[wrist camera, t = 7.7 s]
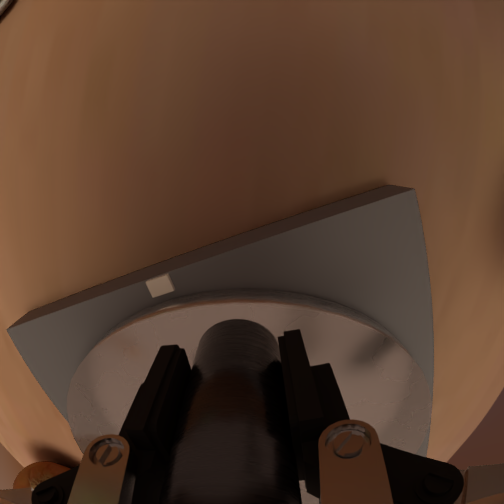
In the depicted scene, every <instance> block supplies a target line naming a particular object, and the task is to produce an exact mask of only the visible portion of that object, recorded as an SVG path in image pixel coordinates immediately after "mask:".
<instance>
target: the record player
mask: <svg viewBox="0 0 504 504" xmlns="http://www.w3.org/2000/svg"><path fill="white" fill-rule="evenodd" d="M296 329H300V331H301V335H302V338H303V342H304V346H305V349H306V353H307V356H308V360H309V364H310V366H314V365H320V364H325V363H330V365H331V367H332V370H333V373H334V375H335V378H336V381H337V384H338V386H339V389H340V392H341V395H342V398H343V400H344V403H345V406H346V409H347V412H348V415H349V417H350V420H352V419H354V420H360V421H364V422H366V423H368V424H370V425H371V426H372V427H373V428H374V429H375V430H376V432H377V434H378V437H379V441H380V443H382V444H385V445H388V446H391V447H394V448H397V449H400V450H403V451H406V452H409V453H413V454H416V453H417V451H418V449H419V448H420V446H421V444H422V442H423V440H424V438H425V435H426V433H427V430H428V427H429V423H430V418H431V404H432V400H431V395H430V389H429V385H428V383H427V380H426V378H425V376H424V374H423V372H422V370H421V369H420V367H419V366H418V365H417V363H416V362H415V361H414V359H413V358H412V357H411V355H410V354H409V353H408V352H407V350H406V349H405V348H404V346H403V345H402V344H401V343H400V341H399V340H398V339H397V338H396V337H395V336H394V335H393V334H391V333H390V332H389V331H388V330H387V329H386V328H384V327H383V326H382V325H381V324H379V323H377V322H376V321H374V320H372V319H371V318H369V317H367V316H366V315H364V314H362V313H361V312H358V311H356V310H353V309H351V308H348V307H346V306H344V305H341V304H339V303H336V302H333V301H329V300H325V299H321V298H318V297H314V296H310V295H306V294H300V293H292V292H285V291H277V290H259V289H232V290H222V291H211V292H202V293H197V294H192V295H188V296H183V297H178V298H174V299H170V300H167V301H164V302H162V303H159V304H156V305H153V306H150V307H147V308H145V309H143V310H141V311H139V312H137V313H135V314H133V315H132V316H130V317H128V318H126V319H124V320H122V321H121V322H120V323H118V324H117V325H116V326H114V327H113V328H112V329H111V330H109V331H108V332H107V333H105V334H104V336H103V337H102V338H101V339H100V340H99V341H98V342H97V344H96V345H95V346H94V347H93V348H92V349H91V351H90V352H89V353H88V354H87V356H86V357H85V358H84V360H83V361H82V362H81V364H80V365H79V366H78V368H77V370H76V372H75V374H74V376H73V378H72V380H71V383H70V387H69V390H68V394H67V414H68V420H69V425H70V428H71V431H72V433H73V436H74V439H75V440H76V442H77V444H78V446H79V448H80V450H81V451H82V453H83V454H84V452H85V450H86V448H87V446H88V445H89V444H90V443H91V442H92V441H93V440H94V439H96V438H98V437H100V436H103V435H109V434H114V435H119V432H120V430H121V428H122V425H123V423H124V421H125V418H126V416H127V414H128V412H129V409H130V407H131V405H132V403H133V400H134V398H135V396H136V394H137V392H138V389H139V387H140V385H141V384H142V383H144V381H145V379H146V377H147V375H148V373H149V370H150V368H151V366H152V364H153V362H154V360H155V357H156V355H157V353H158V351H159V349H160V347H161V346H163V345H175V344H177V345H178V346H179V347H180V348H184V349H185V351H186V354H187V357H188V361H189V364H190V367H191V374H190V378H189V381H188V385H187V389H186V393H185V396H184V400H183V404H182V408H181V412H180V416H179V420H178V424H177V428H176V432H175V435H174V440H173V444H172V448H171V452H170V456H169V460H168V464H167V468H166V472H165V476H164V481H163V485H162V489H161V494H160V498H159V502H158V504H319V499H318V498H316V497H315V496H313V495H311V494H309V493H307V490H306V488H305V481H304V480H302V481H299V476H298V469H297V462H296V455H295V452H294V450H293V445H292V438H291V430H290V423H289V415H288V408H287V401H286V393H285V386H284V379H283V372H282V365H281V358H280V351H279V344H278V337H279V336H284V333H283V331H290V330H296Z"/></svg>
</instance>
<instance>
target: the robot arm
mask: <svg viewBox="0 0 504 504" xmlns="http://www.w3.org/2000/svg"><path fill="white" fill-rule="evenodd" d="M283 333H284V336H279V337H278V344H279V351H280V358H281V365H282V372H283V379H284V386H285V393H286V401H287V408H288V415H289V423H290V430H291V438H292V445H293V450H294V452H295V455H296V462H297V469H298V476H299V481H302V480H304V481H305V488H306V490H307V493H309V494H311V495H313V496H315V497H316V498H318V499H319V504H504V463H503V464H495V465H484V466H469V467H468V468H467V470H459V469H457V468H456V467H455V466H453V465H451V464H448V463H445V462H441V461H438V460H434V459H430V458H427V457H423V456H419V455H416V454H413V453H409V452H406V451H403V450H400V449H397V448H394V447H391V446H388V445H385V444H382V443H380V441H379V437H378V434H377V432H376V430H375V429H374V428H373V427H372V426H371V425H370V424H368V423H366V422H364V421H360V420H354V419H352V420H350V417H349V415H348V412H347V409H346V406H345V403H344V400H343V398H342V395H341V392H340V389H339V386H338V384H337V381H336V378H335V375H334V373H333V370H332V367H331V365H330V363H325V364H320V365H314V366H310V364H309V360H308V356H307V353H306V349H305V346H304V342H303V338H302V335H301V331H300V329H296V330H290V331H283ZM190 374H191V367H190V364H189V361H188V357H187V354H186V351H185V349H184V348H180V347H179V346H178V345H177V344H175V345H163V346H161V347H160V349H159V351H158V353H157V355H156V357H155V360H154V362H153V364H152V366H151V368H150V370H149V373H148V375H147V377H146V379H145V381H144V383H142V384H141V385H140V387H139V389H138V392H137V394H136V396H135V398H134V400H133V403H132V405H131V407H130V409H129V412H128V414H127V416H126V418H125V421H124V423H123V425H122V428H121V430H120V432H119V435H114V434H109V435H103V436H100V437H98V438H96V439H94V440H93V441H92V442H91V443H90V444H89V445H88V446H87V448H86V450H85V452H84V455H83V458H82V460H81V463H80V465H78V466H76V467H74V468H72V469H70V470H68V471H66V472H63V473H61V474H59V475H57V476H54V477H52V478H50V479H47V480H45V481H43V482H41V483H40V484H38V485H37V486H36V487H35V488H34V489H33V488H32V487H29V488H19V489H6V490H0V504H158V502H159V498H160V494H161V489H162V485H163V481H164V476H165V472H166V468H167V464H168V460H169V456H170V452H171V448H172V444H173V440H174V435H175V432H176V428H177V424H178V420H179V416H180V412H181V408H182V404H183V400H184V396H185V393H186V389H187V385H188V381H189V378H190Z"/></svg>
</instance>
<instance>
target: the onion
mask: <svg viewBox="0 0 504 504" xmlns="http://www.w3.org/2000/svg"><path fill="white" fill-rule="evenodd" d="M68 470H70V468H68V467H65V466H62V465H59V464H57V463H53V462H49V461H43V462H36V463H33V464H30V465H28V466H27V467H25V468H24V469H23V470H22V471H21V472H20V473H19V474H18V476H17V477H16V479H15V481H14V484H13V489H19V488H29V487H32V488H33V489H34V488H35V487H36V486H37V485H38V484H40V483H41V482H43V481H45V480H47V479H50V478H52V477H54V476H57V475H59V474H61V473H63V472H66V471H68Z"/></svg>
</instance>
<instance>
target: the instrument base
mask: <svg viewBox="0 0 504 504" xmlns="http://www.w3.org/2000/svg"><path fill="white" fill-rule="evenodd" d="M232 289H259V290H277V291H285V292H292V293H300V294H306V295H310V296H314V297H318V298H321V299H325V300H329V301H333V302H336V303H339V304H341V305H344V306H346V307H348V308H351V309H353V310H356V311H358V312H361V313H362V314H364V315H366V316H367V317H369V318H371V319H372V320H374V321H376V322H377V323H379V324H381V325H382V326H383V327H384V328H386V329H387V330H388V331H389V332H390V333H391V334H393V335H394V336H395V337H396V338H397V339H398V340H399V341H400V343H401V344H402V345H403V346H404V348H405V349H406V350H407V352H408V353H409V354H410V355H411V357H412V358H413V359H414V361H415V362H416V363H417V365H418V366H419V367H420V369H421V370H422V372H423V374H424V376H425V378H426V380H427V383H428V385H429V389H430V395H431V400H432V399H433V377H434V335H433V313H432V298H431V287H430V277H429V268H428V260H427V253H426V246H425V239H424V233H423V227H422V222H421V216H420V211H419V206H418V201H417V197H416V192H415V189H413V188H407V187H401V186H394V185H387V186H384V187H381V188H378V189H375V190H371V191H368V192H365V193H362V194H359V195H356V196H353V197H350V198H347V199H344V200H340V201H337V202H334V203H331V204H328V205H325V206H322V207H319V208H316V209H313V210H310V211H307V212H304V213H301V214H298V215H295V216H292V217H289V218H286V219H283V220H280V221H277V222H274V223H271V224H268V225H265V226H262V227H260V228H257V229H254V230H251V231H248V232H245V233H242V234H239V235H236V236H233V237H231V238H228V239H225V240H222V241H219V242H216V243H213V244H210V245H208V246H205V247H202V248H199V249H196V250H193V251H191V252H188V253H185V254H182V255H179V256H177V257H174V258H171V259H168V260H166V261H163V262H160V263H157V264H154V265H152V266H149V267H146V268H143V269H141V270H138V271H135V272H133V273H130V274H127V275H124V276H122V277H119V278H116V279H114V280H111V281H108V282H106V283H103V284H100V285H98V286H95V287H92V288H90V289H87V290H84V291H82V292H79V293H76V294H74V295H71V296H69V297H66V298H63V299H61V300H58V301H56V302H53V303H50V304H48V305H45V306H43V307H40V308H38V309H35V310H32V311H30V312H28V313H27V314H25V315H24V316H23V317H21V318H20V319H19V320H18V321H16V322H15V323H14V324H13V325H11V326H10V327H9V328H8V329H6V330H7V332H8V333H9V335H10V337H11V339H12V341H13V342H14V344H15V346H16V348H17V349H18V351H19V353H20V355H21V356H22V358H23V359H24V361H25V363H26V364H27V366H28V367H29V369H30V371H31V372H32V374H33V375H34V377H35V378H36V380H37V381H38V383H39V384H40V386H41V387H42V388H43V390H44V391H45V393H46V394H47V395H48V397H49V398H50V400H51V401H52V402H53V404H54V405H55V406H56V407H57V409H58V410H59V411H60V413H61V414H62V415H63V416H64V418H65V419H66V420H67V421H68V423H69V420H68V414H67V394H68V390H69V387H70V383H71V380H72V378H73V376H74V374H75V372H76V370H77V368H78V366H79V365H80V364H81V362H82V361H83V360H84V358H85V357H86V356H87V354H88V353H89V352H90V351H91V349H92V348H93V347H94V346H95V345H96V344H97V342H98V341H99V340H100V339H101V338H102V337H103V336H104V334H105V333H107V332H108V331H109V330H111V329H112V328H113V327H114V326H116V325H117V324H118V323H120V322H121V321H122V320H124V319H126V318H128V317H130V316H132V315H133V314H135V313H137V312H139V311H141V310H143V309H145V308H147V307H150V306H153V305H156V304H159V303H162V302H164V301H167V300H170V299H174V298H178V297H183V296H188V295H192V294H197V293H202V292H211V291H222V290H232ZM431 412H432V404H431ZM430 423H431V418H430ZM430 423H429V427H428V430H427V433H426V435H425V438H424V440H423V442H422V444H421V446H420V448H419V449H418V451H417V453H416V455H419V456H423V457H426V455H427V448H428V441H429V433H430Z"/></svg>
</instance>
